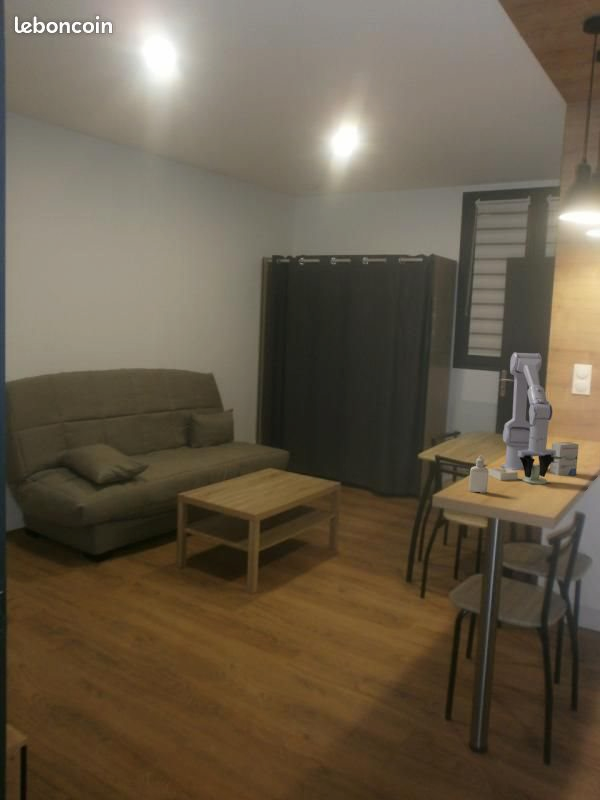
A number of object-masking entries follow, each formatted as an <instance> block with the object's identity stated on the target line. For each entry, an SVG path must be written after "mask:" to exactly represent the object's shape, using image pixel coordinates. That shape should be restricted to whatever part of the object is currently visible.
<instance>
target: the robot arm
mask: <svg viewBox="0 0 600 800" xmlns="http://www.w3.org/2000/svg"><path fill="white" fill-rule="evenodd" d="M542 359H543V358H542V355H541V354H540V353H539V352H537V353H532V352H531V353H530V352H529V353H528V352H516V351H515V352H513V353H512V355H511V357H510V363H509V371H510V374H511V375H513V382H514V383H513V397H512V398H513V399H512V400H513V402H512V418H511V419H510V420H508V421H507V422H505V423H504V426H503V428H504V429H503V431H502V441H503V442H504V444H506V452H505V463H504V464H500V467H501V468H507V469H510V470H513V471H521V470H523V471H524V477H529V478H530V477H531V472H532V466H533V464H535V463H534V462H535V458H534V457H538V465H540V473H539V477H541V478H544V477H545V476H546V474H547V471H548V469H549V468H550V464H551V462H552V461H553V458H554V457H551V455H552V456H556V450H553V449H552V448H551V449H550V448H547V444H548V443H547V442H548V433H549V431H548V430H549V423H550V420H552V417H553V406H552V404H551V403H550V401H548V399H547V396H546V391H545V389H544V387H543V386H541V385H540V383H541V382H540V375H539V372H540V370H541V367H542V361H543V360H542ZM527 401H528V402H529V405H530V406H529V410H528V416H529V421H527Z"/></svg>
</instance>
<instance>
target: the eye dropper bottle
mask: <svg viewBox="0 0 600 800" xmlns="http://www.w3.org/2000/svg"><path fill="white" fill-rule="evenodd" d="M469 470H470V471H469V472H470V473H469V480H468V481H469V482H468V483H469V484H468V491H469V492H470V493H474V492H480V493H479V494H486V493H487V492H488V482H489V481H488V480H489V476H488V475H489V468H487V467H485V459H483V455H482V454H481V455H479V456H478V457H477V459H476V460H475V465H474V466H472V467H471V468H470V469H469Z"/></svg>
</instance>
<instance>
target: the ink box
mask: <svg viewBox="0 0 600 800" xmlns="http://www.w3.org/2000/svg"><path fill="white" fill-rule="evenodd" d="M579 446H580V445H579V444H578V443H574V442H571V441H569V442H568V441H566V442H552V443H551V449H553V450H556V456H552V455H551V457H554V458H553V461H552V462H551V464H550V465H549V474H553V475H556V476H577V470H578V469H577V468H578V466H577V465H578V459H579V458H578V455H579Z"/></svg>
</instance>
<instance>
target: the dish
mask: <svg viewBox="0 0 600 800" xmlns="http://www.w3.org/2000/svg"><path fill="white" fill-rule="evenodd" d="M518 474H519V472H518V471H517V470H511V469H509V468H505V467H494V468H488V477H490V478H493V479H495V480H498V481H517V480H518V477H519V476H518Z"/></svg>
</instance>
